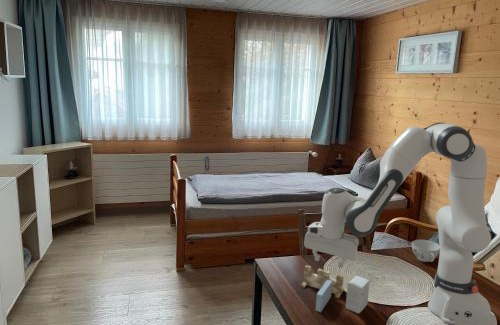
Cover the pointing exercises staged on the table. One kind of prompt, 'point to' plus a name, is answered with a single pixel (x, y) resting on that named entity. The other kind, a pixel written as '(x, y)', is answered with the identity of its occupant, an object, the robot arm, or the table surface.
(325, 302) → the blue slat
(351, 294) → the small box
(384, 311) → the table surface
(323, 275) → the pine rail
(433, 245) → the teacup
